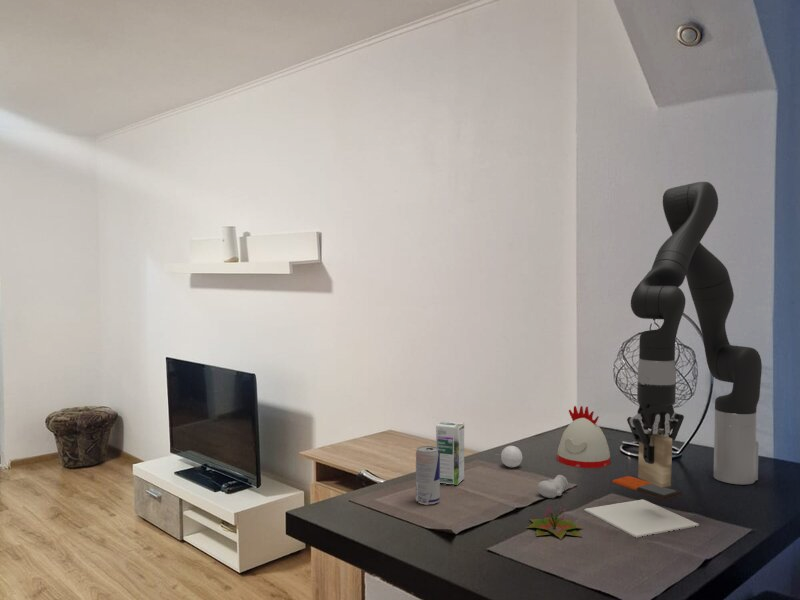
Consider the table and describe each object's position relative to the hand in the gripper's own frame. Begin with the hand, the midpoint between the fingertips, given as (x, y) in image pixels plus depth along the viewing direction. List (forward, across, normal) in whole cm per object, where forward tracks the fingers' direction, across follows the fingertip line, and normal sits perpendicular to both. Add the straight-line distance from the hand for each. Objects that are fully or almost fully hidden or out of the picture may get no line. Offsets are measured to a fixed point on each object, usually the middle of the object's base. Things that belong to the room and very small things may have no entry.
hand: (654, 461), depth 142 cm
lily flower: (+12, +24, -2) cm, 27 cm away
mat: (+11, +4, 0) cm, 12 cm away
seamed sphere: (+12, +10, -43) cm, 46 cm away
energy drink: (+12, +41, -26) cm, 50 cm away
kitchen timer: (+12, -12, -40) cm, 43 cm away
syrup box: (+12, +30, -37) cm, 49 cm away
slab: (+4, 0, 0) cm, 4 cm away
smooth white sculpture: (+12, +12, -19) cm, 25 cm away
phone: (+12, -11, -15) cm, 22 cm away
